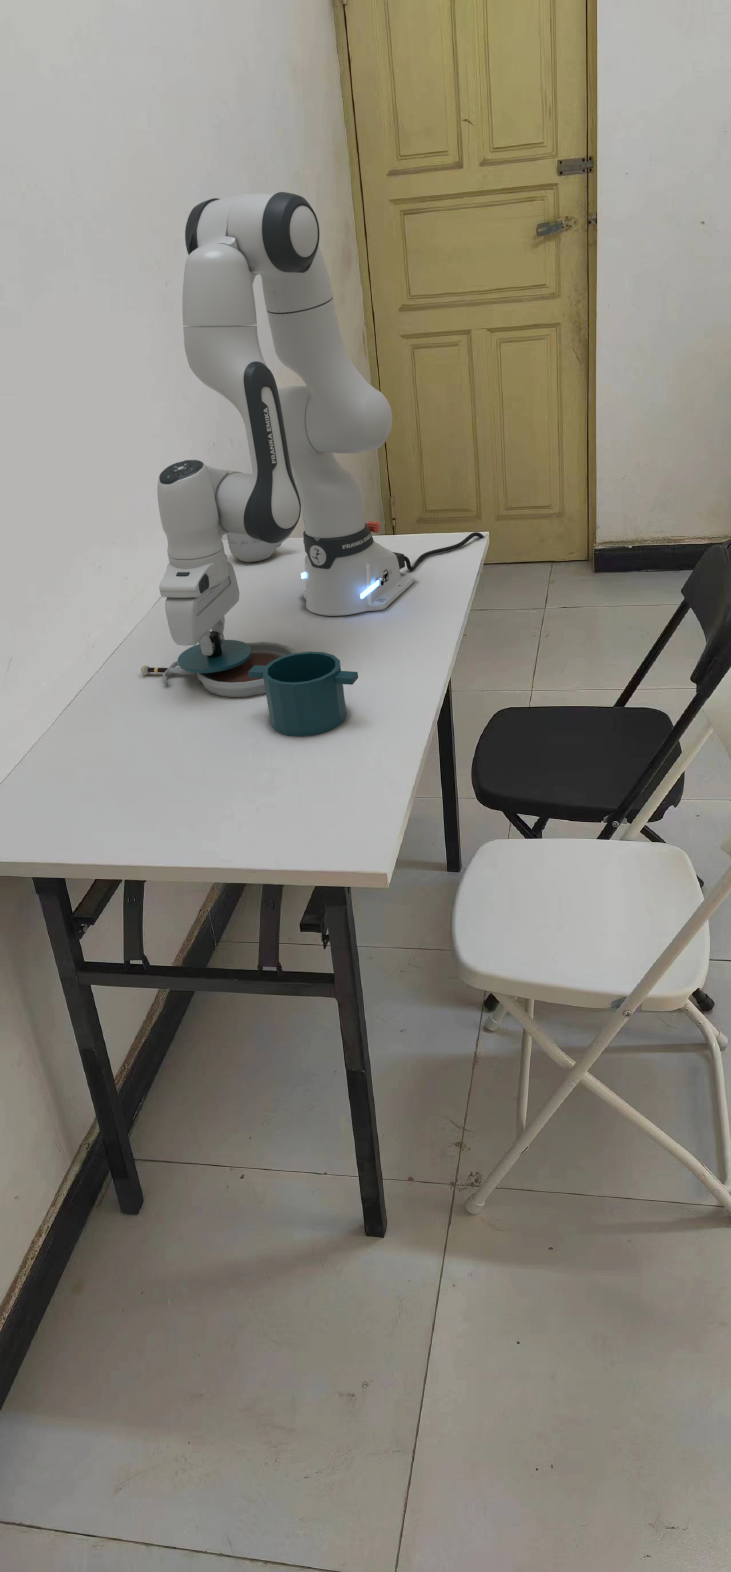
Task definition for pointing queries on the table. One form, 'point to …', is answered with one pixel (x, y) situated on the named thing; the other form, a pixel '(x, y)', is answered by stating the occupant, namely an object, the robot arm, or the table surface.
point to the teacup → (251, 547)
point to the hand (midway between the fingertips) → (213, 648)
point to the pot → (305, 692)
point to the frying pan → (234, 672)
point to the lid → (215, 656)
